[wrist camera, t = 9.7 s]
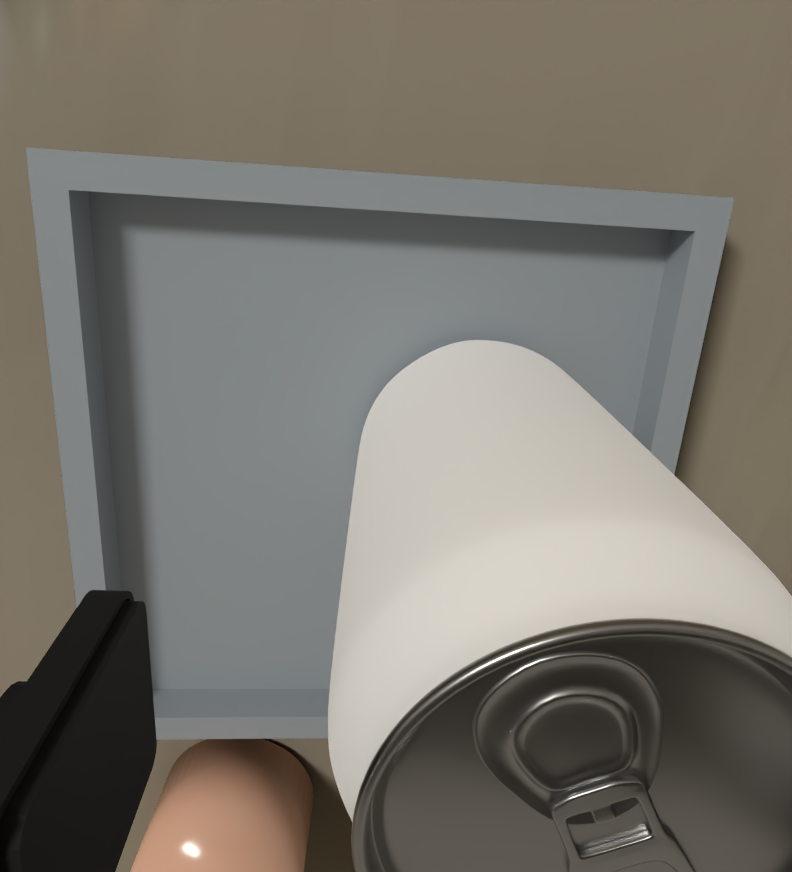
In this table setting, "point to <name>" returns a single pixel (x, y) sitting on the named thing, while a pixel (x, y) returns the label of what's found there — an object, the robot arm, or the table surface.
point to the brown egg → (230, 811)
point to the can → (549, 642)
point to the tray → (312, 377)
